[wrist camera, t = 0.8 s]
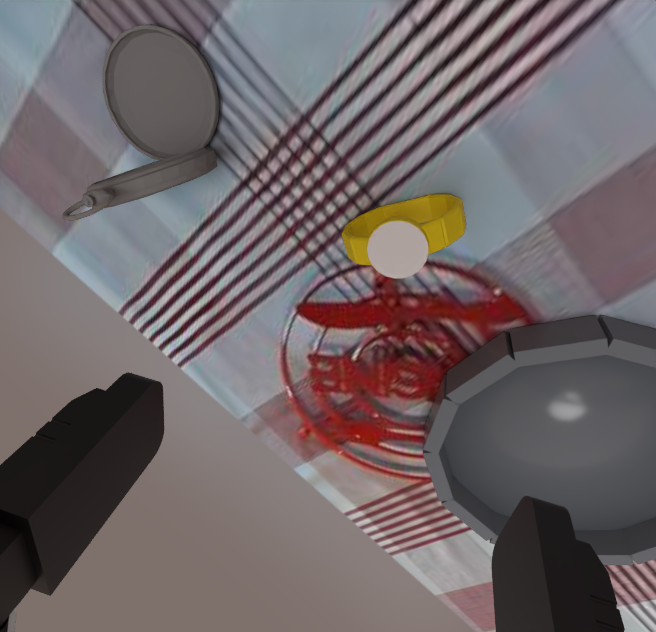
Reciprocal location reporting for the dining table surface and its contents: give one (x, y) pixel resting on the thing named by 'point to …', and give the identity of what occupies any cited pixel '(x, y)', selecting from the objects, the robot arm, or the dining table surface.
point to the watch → (404, 233)
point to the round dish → (553, 432)
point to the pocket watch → (156, 114)
